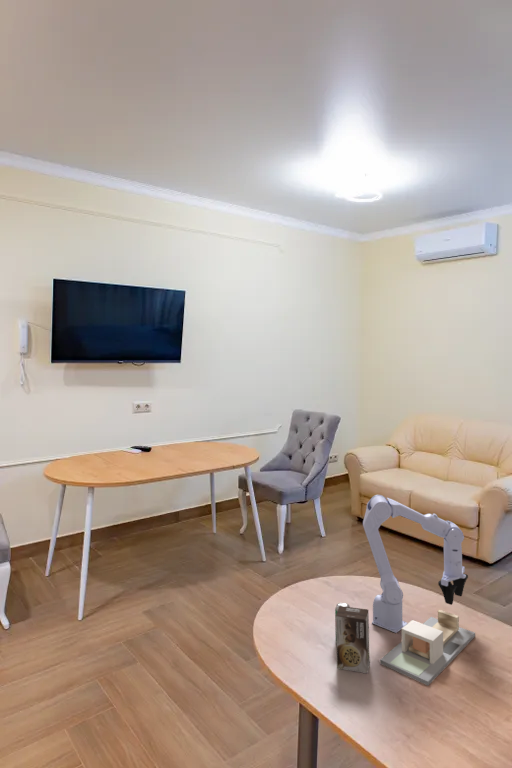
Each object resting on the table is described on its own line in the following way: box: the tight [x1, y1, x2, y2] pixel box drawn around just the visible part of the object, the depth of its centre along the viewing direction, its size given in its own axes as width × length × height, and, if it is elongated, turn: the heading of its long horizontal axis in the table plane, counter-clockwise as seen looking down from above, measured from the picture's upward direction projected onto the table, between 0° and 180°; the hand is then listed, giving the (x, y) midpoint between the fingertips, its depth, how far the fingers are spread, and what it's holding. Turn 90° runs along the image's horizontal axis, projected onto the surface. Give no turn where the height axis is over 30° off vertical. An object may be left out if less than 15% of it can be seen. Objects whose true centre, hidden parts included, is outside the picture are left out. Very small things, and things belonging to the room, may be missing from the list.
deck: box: [379, 616, 476, 686], centre depth 155 cm, size 15×34×1 cm, turn 135°
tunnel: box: [401, 619, 443, 664], centre depth 151 cm, size 10×7×7 cm
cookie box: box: [335, 606, 371, 674], centre depth 147 cm, size 9×6×16 cm
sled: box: [409, 609, 460, 659], centre depth 157 cm, size 6×22×5 cm, turn 135°
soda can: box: [334, 602, 351, 643], centre depth 159 cm, size 5×5×12 cm
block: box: [413, 637, 430, 653], centre depth 151 cm, size 4×4×4 cm
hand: (453, 599), depth 167 cm, fingers open, 7 cm apart
